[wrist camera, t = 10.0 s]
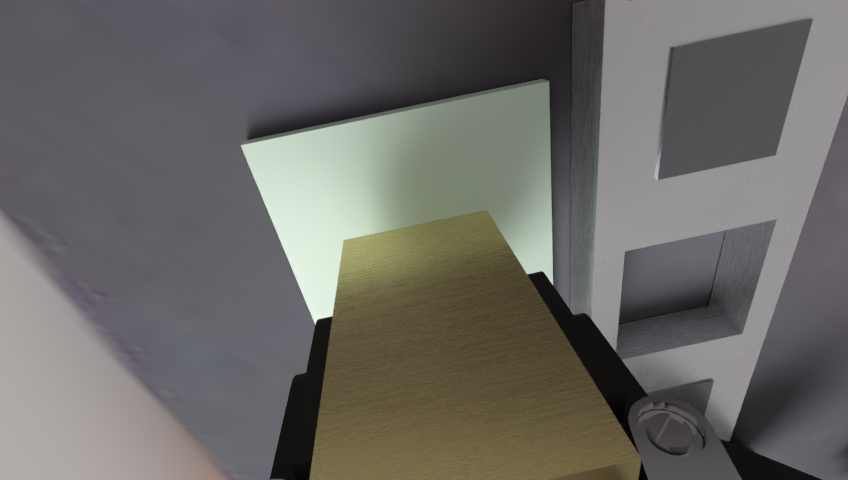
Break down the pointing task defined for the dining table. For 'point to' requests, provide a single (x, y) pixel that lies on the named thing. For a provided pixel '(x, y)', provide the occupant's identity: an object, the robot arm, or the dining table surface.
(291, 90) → the dining table surface
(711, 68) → the rail
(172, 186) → the dining table surface
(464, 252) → the yellow block
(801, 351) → the dining table surface
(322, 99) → the dining table surface
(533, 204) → the pad
